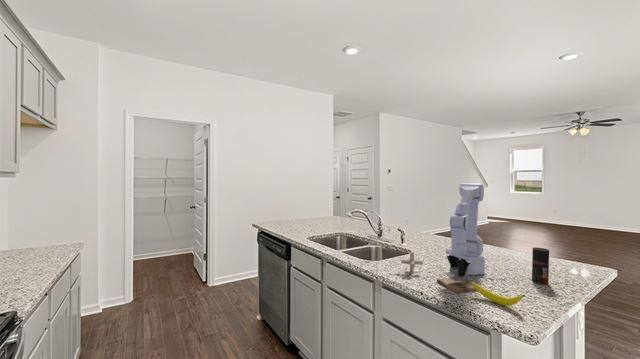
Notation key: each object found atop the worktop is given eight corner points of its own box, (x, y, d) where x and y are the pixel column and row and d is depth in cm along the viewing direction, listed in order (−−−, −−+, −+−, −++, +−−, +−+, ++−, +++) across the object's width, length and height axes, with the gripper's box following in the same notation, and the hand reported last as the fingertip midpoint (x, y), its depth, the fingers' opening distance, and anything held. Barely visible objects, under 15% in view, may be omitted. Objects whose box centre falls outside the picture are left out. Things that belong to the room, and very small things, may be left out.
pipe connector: (424, 276, 134) (424, 255, 134) (401, 275, 136) (402, 254, 136) (420, 270, 144) (421, 250, 143) (400, 268, 146) (400, 248, 145)
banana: (472, 292, 116) (473, 277, 116) (526, 312, 100) (526, 294, 100) (468, 294, 115) (469, 278, 115) (522, 314, 99) (522, 296, 99)
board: (460, 279, 131) (460, 277, 131) (480, 290, 119) (480, 287, 119) (437, 281, 128) (437, 279, 128) (454, 292, 116) (455, 289, 116)
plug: (463, 276, 126) (463, 266, 126) (469, 280, 122) (470, 269, 122) (444, 277, 124) (444, 267, 124) (450, 281, 120) (451, 270, 120)
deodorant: (541, 285, 125) (542, 251, 125) (528, 280, 131) (529, 247, 131) (551, 284, 127) (552, 250, 127) (538, 279, 133) (539, 247, 132)
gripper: (440, 239, 129) (439, 269, 130) (462, 247, 115) (461, 281, 115) (453, 239, 131) (453, 268, 131) (477, 247, 117) (476, 280, 117)
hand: (458, 274), depth 123 cm, fingers closed on plug, 4 cm apart
